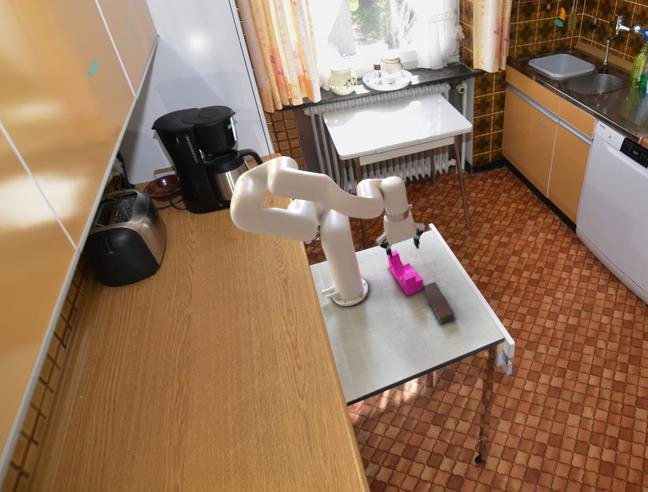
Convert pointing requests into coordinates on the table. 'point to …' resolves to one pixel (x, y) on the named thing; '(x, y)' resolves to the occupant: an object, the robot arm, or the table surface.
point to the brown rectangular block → (438, 302)
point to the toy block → (405, 274)
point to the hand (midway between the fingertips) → (403, 250)
